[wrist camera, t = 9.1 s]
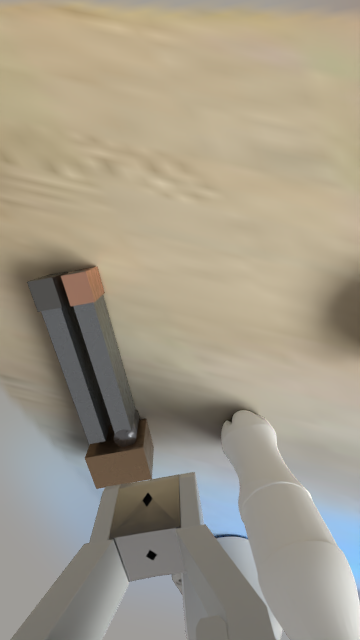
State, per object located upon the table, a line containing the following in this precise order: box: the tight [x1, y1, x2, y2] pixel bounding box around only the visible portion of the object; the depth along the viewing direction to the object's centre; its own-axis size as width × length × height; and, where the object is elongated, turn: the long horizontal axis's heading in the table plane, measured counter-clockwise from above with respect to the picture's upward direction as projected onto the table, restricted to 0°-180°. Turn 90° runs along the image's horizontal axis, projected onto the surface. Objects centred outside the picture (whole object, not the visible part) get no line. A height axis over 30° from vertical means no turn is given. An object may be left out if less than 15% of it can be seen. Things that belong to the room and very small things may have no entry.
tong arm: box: [61, 267, 139, 447], centre depth 29 cm, size 21×3×4 cm, turn 10°
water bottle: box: [221, 410, 360, 640], centre depth 24 cm, size 7×7×25 cm
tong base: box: [27, 272, 154, 489], centre depth 30 cm, size 26×7×5 cm, turn 10°
